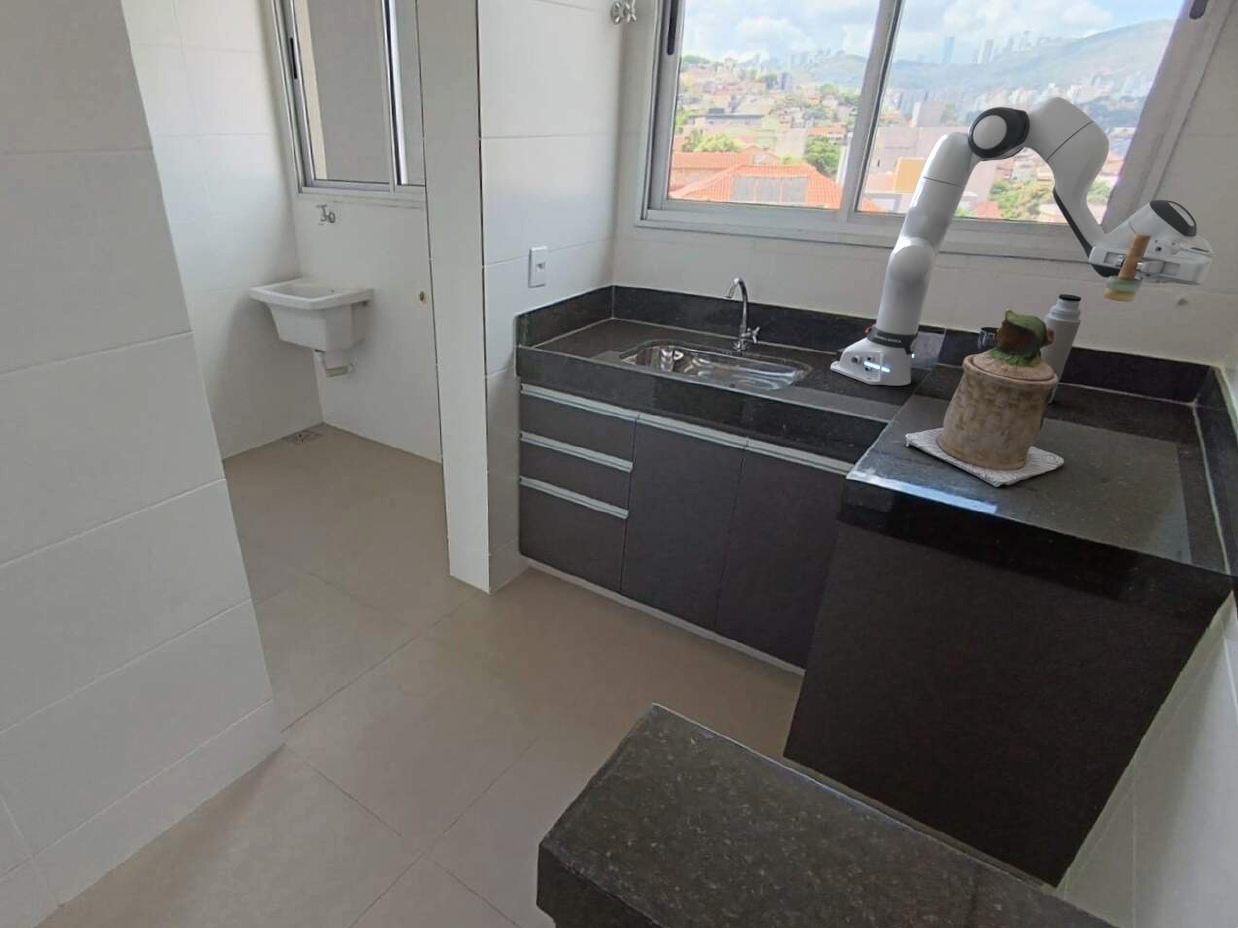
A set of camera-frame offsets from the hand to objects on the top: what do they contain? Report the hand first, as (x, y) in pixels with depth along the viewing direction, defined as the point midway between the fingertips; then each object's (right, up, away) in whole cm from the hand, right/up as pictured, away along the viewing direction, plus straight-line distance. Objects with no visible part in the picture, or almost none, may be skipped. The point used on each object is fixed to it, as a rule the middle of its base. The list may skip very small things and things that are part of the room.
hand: (1129, 264), depth 134 cm
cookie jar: (-21, -38, +16) cm, 46 cm away
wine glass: (+4, -16, +62) cm, 64 cm away
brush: (0, -6, +4) cm, 7 cm away
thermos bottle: (+13, -22, +51) cm, 57 cm away
